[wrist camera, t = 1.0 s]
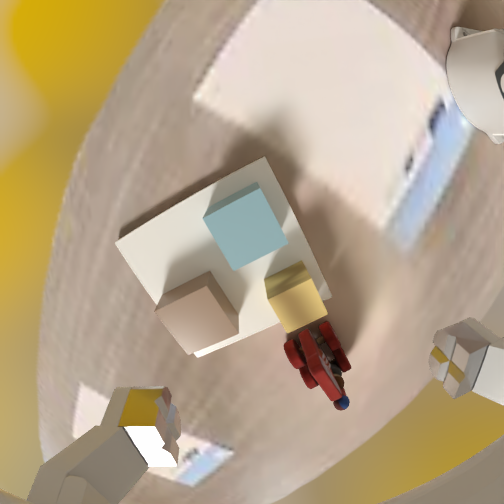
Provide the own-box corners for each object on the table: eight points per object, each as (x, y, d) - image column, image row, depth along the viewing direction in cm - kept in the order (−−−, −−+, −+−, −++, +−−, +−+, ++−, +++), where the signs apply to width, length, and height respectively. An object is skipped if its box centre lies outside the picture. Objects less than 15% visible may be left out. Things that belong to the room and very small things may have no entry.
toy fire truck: (311, 382, 43) (325, 432, 34) (276, 330, 39) (286, 384, 30) (350, 363, 42) (372, 410, 33) (322, 307, 38) (345, 356, 29)
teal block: (256, 181, 31) (260, 187, 27) (281, 229, 33) (288, 243, 28) (207, 207, 32) (202, 218, 27) (234, 253, 34) (233, 271, 29)
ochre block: (301, 260, 35) (311, 278, 30) (317, 293, 36) (328, 314, 31) (263, 279, 35) (267, 299, 30) (281, 310, 37) (287, 333, 32)
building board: (264, 156, 31) (268, 158, 27) (329, 292, 38) (341, 313, 33) (118, 239, 34) (101, 254, 29) (198, 352, 40) (194, 376, 35)
